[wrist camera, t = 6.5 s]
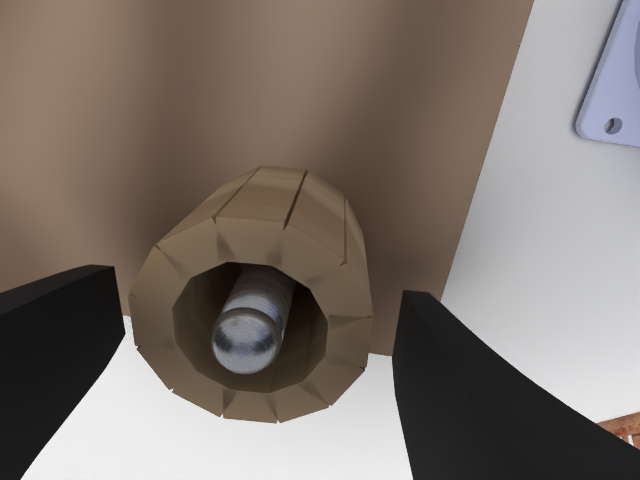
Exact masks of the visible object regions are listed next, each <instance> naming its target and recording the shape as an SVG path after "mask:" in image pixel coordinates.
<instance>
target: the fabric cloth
mask: <svg viewBox="0 0 640 480" xmlns="http://www.w3.org/2000/svg"><path fill="white" fill-rule="evenodd" d="M533 2H534V0H0V293H2V292H4V291H7V290H10V289H13V288H16V287H19V286H22V285H25V284H27V283H30V282H33V281H36V280H39V279H42V278H45V277H48V276H51V275H54V274H57V273H60V272H63V271H66V270H70V269H73V268H77V267H80V266H85V265H89V264H94V265H106V266H114V267H115V273H116V279H117V285H118V291H119V297H120V303H121V310H122V315H126V316H131V314H130V308H129V301H128V295H129V294H130V293H129V290H130V288H131V287H132V285H133V283H134V281H135V279H136V278H137V276H138V274H139V272H140V270H141V268H142V267H143V265H144V263H145V261H146V259H147V257H148V256H149V254H150V252H151V250H152V248H153V246H154V245H156V244H157V243H158V242H159V241H160V240H161V239H162V238H163V237H164V236H166V235H167V234H168V233H169V232H170V231H171V230H172V229H173V228H175V227H176V226H177V225H178V224H179V223H180V222H181V221H182V220H184V219H185V218H186V217H187V216H188V215H189V214H190V213H191V212H193V211H194V210H195V209H196V208H197V207H198V206H199V205H200V204H202V203H203V202H204V201H205V200H206V199H207V198H208V197H209V196H211V195H212V194H213V193H214V192H215V191H216V190H217V189H218V188H219V187H221V186H222V185H223V184H224V183H226V182H228V181H231V180H233V179H235V178H237V177H239V176H241V175H243V174H245V173H247V172H249V171H251V170H253V169H255V168H257V167H259V166H260V167H262V166H274V167H287V168H299V169H306V173H307V172H308V170H309V171H311V172H312V173H314V174H315V175H317V176H318V177H319V178H321V179H322V180H324V181H325V182H327V183H328V184H330V185H331V186H333V187H334V188H336V189H337V190H339V191H340V192H342V193H343V194H344V197H345V196H346V198H347V200H348V202H349V204H350V206H351V208H352V210H353V212H354V215H355V217H356V219H357V221H358V223H359V225H360V227H361V229H362V231H363V237H364V245H365V253H366V261H367V269H368V277H369V285H370V293H371V301H372V309H373V317H374V319H373V326H372V333H371V340H370V346H369V353H373V354H380V355H386V356H392V353H393V347H394V341H395V335H396V329H397V323H398V317H399V311H400V305H401V299H402V293H403V290H410V291H423V292H429V293H430V294H431V295H433V296H434V297H435V298H436V299H437V300H438V301H439V302H440V301H441V297H442V294H443V291H444V288H445V285H446V281H447V278H448V275H449V272H450V269H451V265H452V262H453V259H454V256H455V252H456V249H457V246H458V243H459V240H460V236H461V233H462V230H463V227H464V224H465V220H466V217H467V214H468V211H469V208H470V204H471V201H472V198H473V195H474V192H475V188H476V185H477V182H478V179H479V175H480V172H481V169H482V166H483V163H484V159H485V156H486V153H487V150H488V147H489V143H490V140H491V137H492V134H493V131H494V127H495V124H496V121H497V118H498V115H499V111H500V108H501V105H502V102H503V98H504V95H505V92H506V89H507V86H508V82H509V79H510V76H511V73H512V70H513V66H514V63H515V60H516V57H517V54H518V50H519V47H520V44H521V41H522V38H523V34H524V31H525V28H526V25H527V21H528V18H529V15H530V12H531V9H532V5H533ZM306 173H305V175H306ZM236 263H237V264H238V266H239V268H240V269H241V271H242V270H243V268H244V266H245V264H246V263H239V262H236ZM303 287H306V286H305V285H303V284H301V283H300V282H298V281H297V280H296V285H295V289H294V291H296V290H298V289H301V288H303Z"/></svg>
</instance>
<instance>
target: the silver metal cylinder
mask: <svg viewBox="0 0 640 480" xmlns="http://www.w3.org/2000/svg"><path fill="white" fill-rule="evenodd" d="M295 285H296V280H295V279H293V278H292V277H290V276H288V275H287V274H285V273H284V272H282V271H280V270H279V269H277V268H275V267H274V266H272V265H262V264H251V263H246V264H245V266H244V268H243V270H242V272H241V274H240V276H239V278H238V280H237V281H236V283H235V285H234V287H233V289H232V291H231V293H230V295H229V297H228V299H227V301H226V302H225V304H224V306H223V308H222V310H221V312H220V314H219V316H218V318H217V320H216V322H215V324H214V326H213V329H212V333H211V346H212V350H213V353H214V355H215V357H216V359H217V360H218V361H219V363H220V364H221V365H222V366H224V367H225V368H226V369H228V370H230V371H232V372H235V373H238V374H252V373H256V372H259V371H261V370H263V369H265V368H266V367H267V366H269V365H270V364H271V363H272V362H273V361H274V359H275V358H276V357H277V355H278V353H279V351H280V348H281V345H282V341H283V336H284V332H285V328H286V323H287V319H288V315H289V311H290V306H291V302H292V298H293V293H294V289H295Z"/></svg>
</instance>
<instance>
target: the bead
mask: <svg viewBox="0 0 640 480" xmlns="http://www.w3.org/2000/svg"><path fill="white" fill-rule="evenodd" d="M305 173H306V169H299V168H287V167H274V166H262V167H260V166H259V167H257V168H255V169H253V170H251V171H249V172H247V173H245V174H243V175H241V176H239V177H237V178H235V179H233V180H231V181H228V182H226V183H224V184H223V185H222V186H221V187H219V188H218V189H217V190H216V191H215V192H214V193H213V194H212V195H211V196H209V197H208V198H207V199H206V200H205V201H204V202H203V203H202V204H200V205H199V206H198V207H197V208H196V209H195V210H194V211H193V212H191V213H190V214H189V215H188V216H187V217H186V218H185V219H184V220H182V221H181V222H180V223H179V224H178V225H177V226H176V227H175V228H173V229H172V230H171V231H170V232H169V233H168V234H167V235H166V236H164V237H163V238H162V239H161V240H160V241H159V242H158V243H157V244H156V245H154V246H153V248H152V250H151V252H150V254H149V256H148V257H147V259H146V261H145V263H144V265H143V267H142V268H141V270H140V272H139V274H138V276H137V278H136V279H135V281H134V283H133V285H132V287H131V288H130V290H129V293H130V294H129V295H128V301H129V308H130V314H131V321H132V328H133V335H134V342H135V346H138V348H137V350H138V352H139V353H140V354H141V355H142V357H143V358H144V359H145V360H146V362H147V363H148V364H149V365H150V367H151V368H152V369H153V370H154V372H155V373H156V374H157V375H158V377H159V378H160V379H161V380H162V382H163V383H164V384H165V386H166V387H167V388H168V389H169V390H170V389H173V388H174V389H173V391H172V393H174V394H176V395H178V396H180V397H182V398H184V399H186V400H188V401H190V402H192V403H193V404H195V405H197V406H199V407H201V408H203V409H205V410H207V411H209V412H211V413H213V414H215V415H217V416H218V417H220V416H221V415H222V414H223V418H226V419H236V420H246V421H256V422H266V423H277V419H278V421H279V422H280V423H282V422H285V421H288V420H291V419H295V418H298V417H301V416H304V415H307V414H310V413H313V412H316V411H319V410H323V409H326V408H329V405H331V406H332V405H333V404H334V403H335V402H336V401H337V399H338V398H339V397H340V396H341V395H342V394H343V393H344V392H345V391H346V390H347V389H348V388H349V387H350V386H351V385H352V384H353V383H354V382H355V380H356V379H357V378H358V377H359V376H360V375H361V374H362V373H363V372H364V371H365V368H366V367H367V360H368V353H369V346H370V340H371V333H372V326H373V319H374V317H373V309H372V301H371V293H370V285H369V277H368V269H367V261H366V253H365V245H364V237H363V231H362V229H361V227H360V225H359V223H358V221H357V219H356V217H355V215H354V212H353V210H352V208H351V206H350V204H349V202H348V200H347V198H346V196H345V197H344V194H343V193H342V192H340V191H339V190H337V189H336V188H334V187H333V186H331V185H330V184H328V183H327V182H325V181H324V180H322V179H321V178H319V177H318V176H317V175H315V174H314V173H312V172H311V171H309V170H308V172H307V173H306V175H305ZM236 262H239V263H251V264H262V265H272V266H274V267H275V268H277V269H279V270H280V271H282V272H284V273H285V274H287V275H288V276H290V277H292V278H293V279H295V280H297V281H298V282H300V283H301V284H303V285H305V286H306V287H303V288H301V289H298V290H296V291H294V293H293V298H292V302H291V306H290V311H289V315H288V319H287V323H286V328H285V332H284V336H283V341H282V345H281V348H280V351H279V353H278V355H277V357H276V358H275V359H274V361H273V362H272V363H271V364H270V365H269V366H267V367H266V368H265V369H263V370H261V371H259V372H256V373H252V374H238V373H235V372H232V371H230V370H228V369H226V368H225V367H224V366H222V365H221V364H220V363H219V361H218V360H217V359H216V357H215V355H214V353H213V350H212V346H211V333H212V329H213V326H214V324H215V322H216V320H217V318H218V316H219V314H220V312H221V310H222V308H223V306H224V304H225V302H226V301H227V299H228V297H229V295H230V293H231V291H232V289H233V287H234V285H235V283H236V281H237V280H238V278H239V276H240V274H241V272H242V271H241V269H240V268H239V266H238V264H237V263H236Z"/></svg>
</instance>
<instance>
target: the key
mask: <svg viewBox="0 0 640 480" xmlns="http://www.w3.org/2000/svg"><path fill="white" fill-rule="evenodd" d="M596 424H597V425H599V426H601V427H602V428H604V429H606V430H607V431H609V432H611V433H612V434H614V435H616V436H617V437H622V439H623V440H624V441H626V442H627V443H629V441H628V435H632V439H633V443H634V447H636V448H638V449H639V450H640V412H638V413H634V414H631V415H627V416H623V417H619V418H615V419H611V420H608V421H604V422H600V423H596Z"/></svg>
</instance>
